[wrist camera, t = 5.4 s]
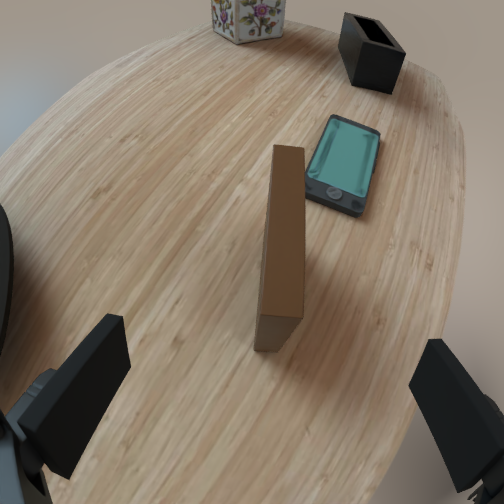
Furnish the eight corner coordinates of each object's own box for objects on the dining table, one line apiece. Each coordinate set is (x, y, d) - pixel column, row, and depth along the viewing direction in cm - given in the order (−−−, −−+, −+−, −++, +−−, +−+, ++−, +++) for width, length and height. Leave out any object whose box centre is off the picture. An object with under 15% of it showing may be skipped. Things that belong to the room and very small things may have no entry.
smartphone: (297, 187, 30) (331, 112, 36) (296, 194, 31) (330, 118, 37) (365, 213, 29) (382, 131, 35) (361, 220, 30) (380, 138, 36)
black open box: (391, 94, 42) (406, 53, 34) (351, 85, 42) (362, 41, 34) (370, 53, 50) (379, 20, 42) (337, 46, 50) (344, 12, 42)
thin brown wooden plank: (277, 352, 24) (303, 318, 13) (253, 350, 24) (259, 314, 13) (285, 235, 29) (304, 147, 18) (264, 234, 29) (273, 144, 18)
